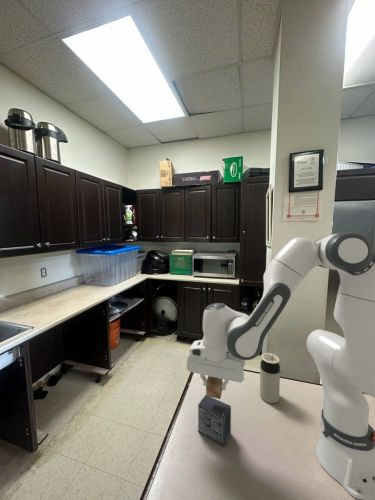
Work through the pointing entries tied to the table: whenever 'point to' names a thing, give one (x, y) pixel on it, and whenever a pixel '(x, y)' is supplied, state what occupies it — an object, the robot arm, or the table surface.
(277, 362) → the travel mug
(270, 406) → the table surface
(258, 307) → the robot arm
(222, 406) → the small box
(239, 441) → the table surface
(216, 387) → the tan cube
